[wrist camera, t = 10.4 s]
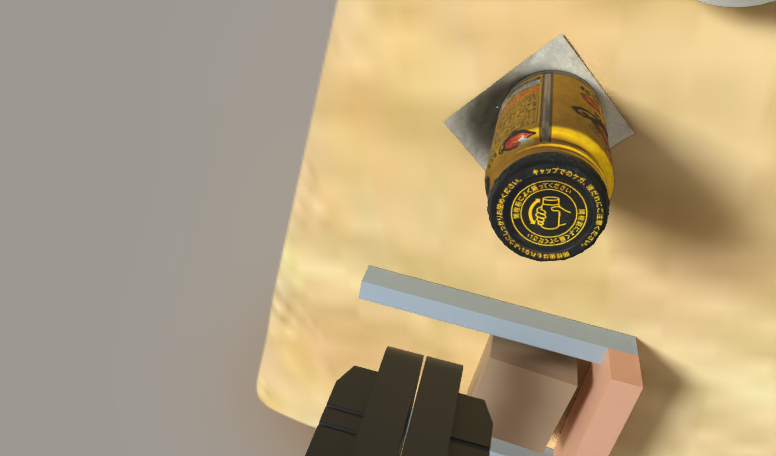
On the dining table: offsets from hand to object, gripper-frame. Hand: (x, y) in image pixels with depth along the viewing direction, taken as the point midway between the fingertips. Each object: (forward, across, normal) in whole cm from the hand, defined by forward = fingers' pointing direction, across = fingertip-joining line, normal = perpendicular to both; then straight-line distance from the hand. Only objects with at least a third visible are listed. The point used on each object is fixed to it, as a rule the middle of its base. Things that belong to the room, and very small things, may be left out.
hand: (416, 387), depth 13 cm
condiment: (+29, -3, +5) cm, 29 cm away
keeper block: (+29, -6, +24) cm, 38 cm away
